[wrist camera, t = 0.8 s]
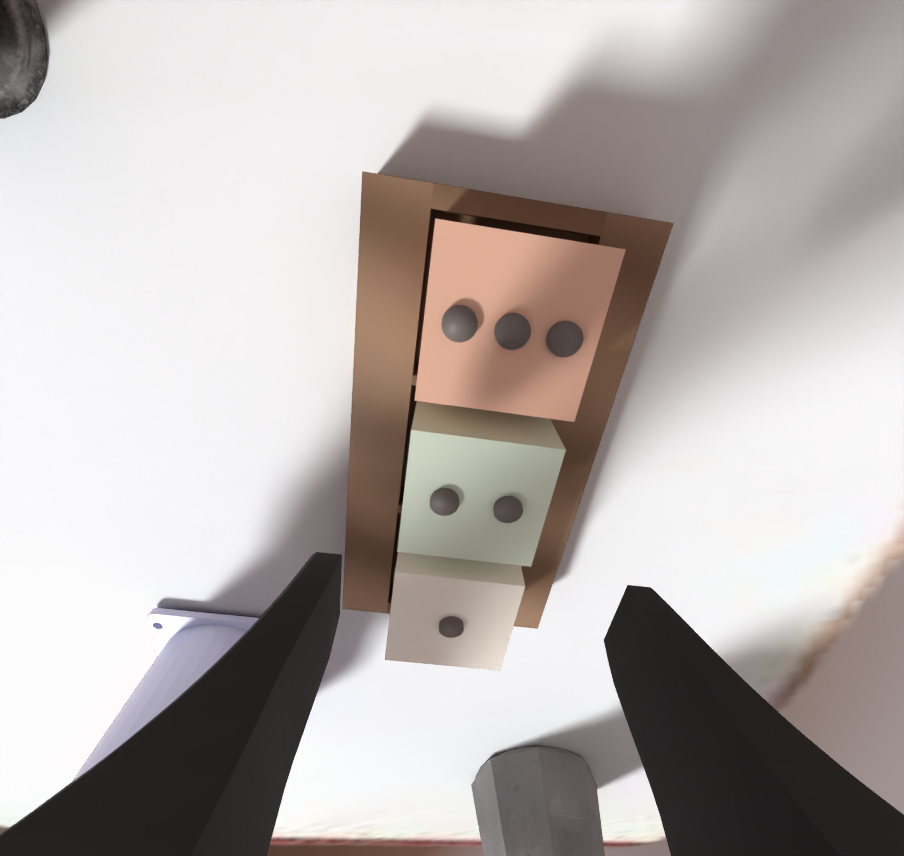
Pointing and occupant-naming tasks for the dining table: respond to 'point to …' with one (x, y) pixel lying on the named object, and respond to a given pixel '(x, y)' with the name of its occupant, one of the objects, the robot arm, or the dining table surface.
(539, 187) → the dining table surface
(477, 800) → the coffeepot
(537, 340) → the peach block
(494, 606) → the beige block
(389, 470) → the board
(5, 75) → the salt shaker
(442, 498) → the pale green knobbed block
